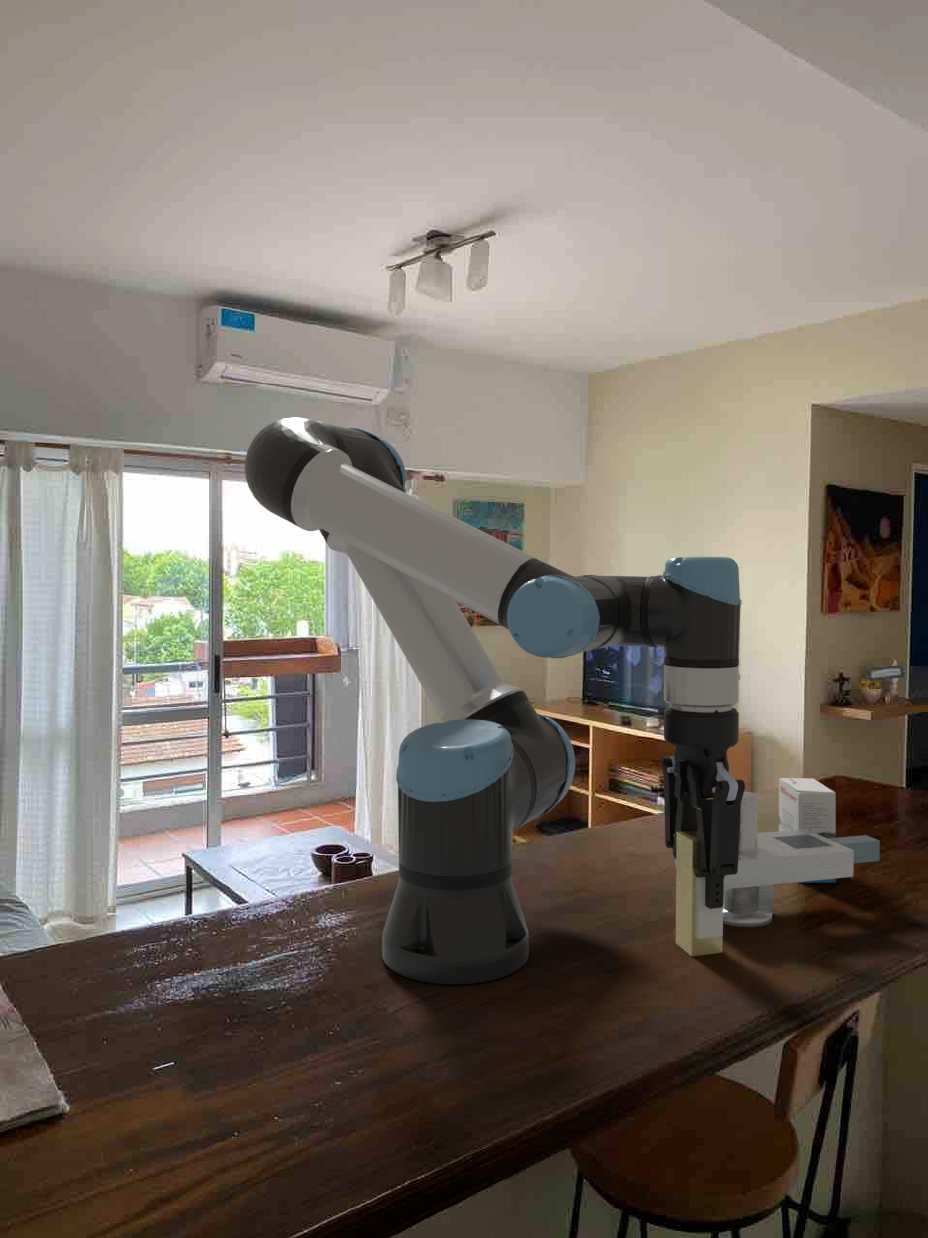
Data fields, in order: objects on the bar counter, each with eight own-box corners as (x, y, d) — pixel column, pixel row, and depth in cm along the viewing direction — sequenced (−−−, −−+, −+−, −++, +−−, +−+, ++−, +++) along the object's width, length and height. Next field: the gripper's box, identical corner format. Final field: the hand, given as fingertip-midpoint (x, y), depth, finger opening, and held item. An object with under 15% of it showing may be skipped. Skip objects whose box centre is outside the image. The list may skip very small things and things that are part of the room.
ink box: (837, 884, 118) (839, 791, 117) (797, 884, 118) (799, 791, 117) (813, 863, 127) (814, 776, 126) (776, 863, 127) (777, 776, 126)
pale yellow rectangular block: (691, 956, 96) (692, 841, 96) (675, 943, 100) (676, 831, 99) (722, 952, 97) (723, 838, 96) (705, 939, 100) (706, 829, 100)
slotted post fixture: (712, 936, 101) (713, 808, 101) (673, 907, 110) (674, 789, 109) (897, 915, 107) (900, 794, 107) (847, 889, 116) (849, 777, 115)
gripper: (779, 716, 90) (775, 956, 91) (694, 694, 106) (693, 898, 107) (708, 720, 88) (705, 964, 89) (633, 696, 104) (632, 904, 105)
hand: (698, 928), depth 98 cm, fingers closed on pale yellow rectangular block, 3 cm apart
